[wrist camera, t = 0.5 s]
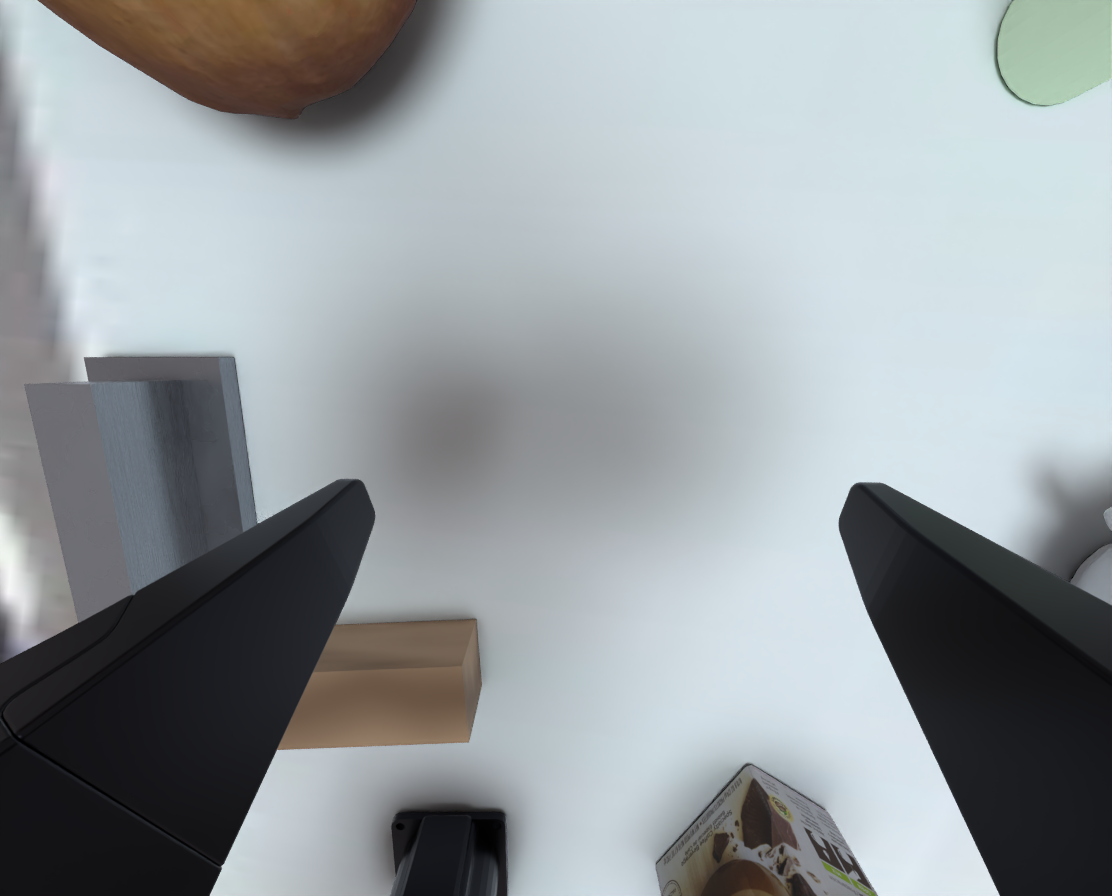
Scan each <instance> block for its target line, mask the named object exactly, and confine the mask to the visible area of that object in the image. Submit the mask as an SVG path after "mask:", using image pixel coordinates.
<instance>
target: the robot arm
mask: <svg viewBox="0 0 1112 896" xmlns="http://www.w3.org/2000/svg"><path fill="white" fill-rule="evenodd" d="M374 521H375V511H374V508H373V505H372V503H371V500H370V497H369V495H368V492H367V490H366V487H365V485H364V483H363V482H362V481H361V480H358V479H339V480H337V481H335V482H333V483H331V484H329V485H328V486H326V487H324V488H322V489H320V490H319V491H317V492H315V493H313V494H311V495H310V496H308V497H306V498H304V499H302V500H301V501H299V502H297V503H295V504H293V505H291V506H290V507H288V508H286V509H284V510H282V511H281V512H279V513H277V514H275V515H273V516H272V517H270V518H268V519H266V520H264V521H263V522H261V523H259V524H257V525H255V526H254V527H252V528H250V529H248V530H246V531H245V532H243V533H241V534H239V535H237V536H236V537H234V538H232V539H230V540H228V541H226V542H225V543H223V544H221V545H219V546H217V547H216V548H214V549H212V550H210V551H208V552H207V553H205V554H203V555H201V556H199V557H198V558H196V559H194V560H192V561H190V562H189V563H187V564H185V565H183V566H181V567H180V568H178V569H176V570H174V571H172V572H171V573H169V574H167V575H165V576H163V577H161V578H160V579H158V580H156V581H154V582H152V583H151V584H149V585H147V586H145V587H143V588H142V589H140V590H138V591H137V592H136V593H135V595H129V596H127V597H125V598H123V599H121V600H120V601H118V602H116V603H114V604H113V605H111V606H109V607H107V608H105V609H104V610H102V611H100V612H98V613H96V614H94V615H92V616H91V617H89V618H87V619H85V620H83V621H81V622H79V623H78V624H76V625H74V626H72V627H70V628H68V629H66V630H65V631H63V632H61V633H59V634H57V635H55V636H53V637H51V638H49V639H47V640H45V641H43V642H41V643H40V644H38V645H36V646H34V647H32V648H30V649H28V650H26V651H24V652H22V653H20V654H18V655H16V656H14V657H12V658H10V659H8V660H6V661H4V662H2V663H0V896H210V893H211V891H212V889H213V887H214V885H215V883H216V881H217V878H218V876H219V874H220V872H221V870H222V867H221V866H222V865H223V864H224V863H225V860H226V858H227V856H228V854H229V852H230V850H231V847H232V845H233V843H234V841H235V839H236V837H237V835H238V832H239V830H240V828H241V826H242V824H243V822H244V820H245V817H246V815H247V813H248V811H249V809H250V807H251V804H252V802H253V800H254V798H255V796H256V794H257V792H258V789H259V787H260V785H261V783H262V781H263V779H264V777H265V774H266V772H267V770H268V768H269V766H270V764H271V761H272V759H273V757H274V755H275V753H276V751H277V749H278V746H279V744H280V742H281V740H282V738H283V736H284V734H285V731H286V729H287V727H288V725H289V723H290V721H291V719H292V716H293V714H294V712H295V710H296V708H297V706H298V703H299V701H300V699H301V697H302V695H303V693H304V691H305V688H306V686H307V684H308V682H309V680H310V678H311V676H312V673H313V671H314V669H315V667H316V665H317V663H318V660H319V658H320V656H321V654H322V652H323V650H324V648H325V645H326V643H327V641H328V639H329V637H330V635H331V633H332V630H333V628H334V626H335V624H336V622H337V620H338V617H339V615H340V613H341V611H342V609H343V607H344V605H345V602H346V600H347V598H348V596H349V593H350V591H351V588H352V586H353V583H354V580H355V578H356V575H357V572H358V569H359V566H360V563H361V560H362V557H363V554H364V551H365V548H366V545H367V543H368V540H369V537H370V534H371V531H372V528H373V525H374ZM839 531H840V534H841V537H842V540H843V543H844V546H845V549H846V552H847V555H848V558H849V561H850V564H851V567H852V570H853V573H854V576H855V579H856V582H857V585H858V588H859V591H860V594H861V597H862V599H863V602H864V605H865V607H866V610H867V612H868V615H869V617H870V619H871V622H872V624H873V626H874V628H875V630H876V632H877V635H878V637H879V639H880V641H881V643H882V645H883V647H884V649H885V652H886V654H887V656H888V658H889V660H890V662H891V664H892V667H893V669H894V671H895V673H896V675H897V677H898V679H899V681H900V684H901V686H902V688H903V690H904V692H905V694H906V696H907V699H908V701H909V703H910V705H911V707H912V709H913V711H914V713H915V716H916V718H917V720H918V722H919V724H920V726H921V728H922V731H923V733H924V735H925V737H926V739H927V741H928V743H929V745H930V748H931V750H932V752H933V754H934V756H935V758H936V760H937V763H938V765H939V767H940V769H941V771H942V773H943V775H944V777H945V780H946V782H947V784H948V786H949V788H950V790H951V792H952V794H953V797H954V799H955V801H956V803H957V805H958V807H959V809H960V812H961V814H962V816H963V818H964V820H965V822H966V824H967V826H968V829H969V831H970V833H971V835H972V837H973V839H974V841H975V844H976V846H977V848H978V850H979V852H980V854H981V856H982V858H983V861H984V863H985V865H986V867H987V869H988V871H989V873H990V876H991V878H992V880H993V882H994V884H995V886H996V888H997V890H998V893H999V895H1000V896H1112V605H1111V604H1109V603H1107V602H1105V601H1103V600H1101V599H1099V598H1098V597H1096V596H1094V595H1092V594H1090V593H1088V592H1086V591H1084V590H1083V589H1081V588H1079V587H1077V586H1075V585H1073V584H1071V583H1069V582H1068V581H1066V580H1064V579H1062V578H1060V577H1058V576H1056V575H1054V574H1053V573H1051V572H1049V571H1047V570H1045V569H1043V568H1041V567H1039V566H1038V565H1036V564H1034V563H1032V562H1030V561H1028V560H1026V559H1024V558H1023V557H1021V556H1019V555H1017V554H1015V553H1013V552H1011V551H1009V550H1008V549H1006V548H1004V547H1002V546H1000V545H998V544H996V543H994V542H993V541H991V540H989V539H987V538H985V537H983V536H981V535H979V534H978V533H976V532H974V531H972V530H970V529H968V528H966V527H964V526H963V525H961V524H959V523H957V522H955V521H953V520H951V519H949V518H948V517H946V516H944V515H942V514H940V513H938V512H936V511H934V510H933V509H931V508H929V507H927V506H925V505H923V504H921V503H919V502H918V501H916V500H914V499H912V498H910V497H908V496H906V495H904V494H903V493H901V492H899V491H897V490H895V489H893V488H891V487H889V486H888V485H886V484H883V483H867V482H859V483H856V484H854V485H853V486H852V487H851V489H850V491H849V494H848V496H847V499H846V501H845V504H844V507H843V509H842V512H841V514H840V517H839ZM392 838H393V849H394V861H395V872H396V878H395V881H394V885H393V888H392V891H391V894H390V896H508V869H507V832H506V817H505V815H504V814H502V813H500V812H402V813H398V814H396V815H395V817H394V820H393V822H392Z"/></svg>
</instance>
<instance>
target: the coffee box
mask: <svg viewBox="0 0 1112 896" xmlns="http://www.w3.org/2000/svg"><path fill="white" fill-rule="evenodd" d="M656 871H657V876H658V881H659V886H660V891H661V896H878V895H877V893H876V892H875V890H874V888H873V887H872V885H871V884H870V882H869V880H868V879H867V877H866V875H865V874H864V872H863V870H862V868H861V867H860V865H859V863H858V862H857V860H856V858H855V857H854V855H853V853H852V851H851V850H850V848H849V846H848V845H847V843H846V841H845V840H844V838H843V836H842V835H841V833H840V831H839V830H838V828H837V826H836V824H835V823H834V821H833V819H832V818H831V816H830V815H829V813H828V812H826V811H825V810H823V809H822V808H820V807H819V806H817V805H815V804H814V803H812V802H811V801H809V800H807V799H806V798H804V797H803V796H801V795H800V794H798V793H796V792H795V791H793V790H792V789H790V788H788V787H787V786H785V785H783V784H782V783H780V782H779V781H777V780H775V779H774V778H772V777H771V776H769V775H767V774H766V773H764V772H763V771H761V770H759V769H758V768H756V767H754V766H752V765H749V766H746V767H745V768H744V769H743V770H742V771H741V772H740V774H739V775H738V776H737V777H736V778H735V779H734V780H733V781H732V782H731V784H730V785H729V786H728V787H727V788H726V789H725V790H724V791H723V792H722V794H721V795H720V796H719V797H718V798H717V799H716V800H715V801H714V802H713V803H712V804H711V805H710V806H709V808H708V809H707V810H706V811H705V812H704V813H703V814H702V815H701V816H700V818H699V819H698V820H697V821H696V822H695V823H694V824H693V825H692V826H691V827H690V828H689V830H688V831H687V832H686V833H685V834H684V835H683V836H682V837H681V838H680V839H679V840H678V841H677V843H676V844H675V845H674V846H673V847H672V848H671V849H670V850H669V851H668V852H667V853H666V854H665V855H664V857H663V858H662V859H661V860H660V861H659V862H658V863H657V865H656Z"/></svg>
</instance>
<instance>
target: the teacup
mask: <svg viewBox="0 0 1112 896" xmlns="http://www.w3.org/2000/svg"><path fill="white" fill-rule="evenodd" d="M1103 516H1104V519H1105V521H1106V523H1107V526H1108V527H1109V529H1110V530H1111V531H1112V507H1110V508H1108V509H1107V510H1106V511H1105V512H1104V514H1103ZM1070 583H1071V584H1073V585H1075V586H1077V587H1079V588H1081V589H1083V590H1084V591H1086V592H1088V593H1090V594H1092V595H1094V596H1096V597H1098V598H1099V599H1101V600H1103V601H1105V602H1107V603H1109V604H1111V605H1112V543H1110V544H1107V545H1105V546H1103V547H1101V548H1099V549H1098V550H1097V551H1096V552H1095V553H1093V554H1092V555H1091V556H1090V557H1089V558H1088V559H1087V560H1085V561H1084V562H1083V563H1082V564H1081V565H1080V567H1079V568H1078V570H1077V571H1076V573H1075V575H1074V577H1073V578H1072V580H1071V581H1070Z"/></svg>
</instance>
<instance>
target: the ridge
mask: <svg viewBox="0 0 1112 896" xmlns="http://www.w3.org/2000/svg"><path fill="white" fill-rule="evenodd" d="M84 361H85V366H86V371H87V376H88V381H89V382H66V383H42V384H24V386H25V390H26V395H27V399H28V404H29V408H30V412H31V417H32V421H33V426H34V430H35V434H36V439H37V443H38V448H39V452H40V456H41V461H42V465H43V469H44V474H45V478H46V483H47V487H48V491H49V496H50V500H51V505H52V509H53V513H54V518H55V522H56V527H57V531H58V535H59V540H60V544H61V549H62V553H63V557H64V562H65V566H66V571H67V575H68V579H69V584H70V588H71V593H72V597H73V601H74V606H75V610H76V615H77V619H78V623H79V622H81V621H83V620H85V619H87V618H89V617H91V616H92V615H94V614H96V613H98V612H100V611H102V610H104V609H105V608H107V607H109V606H111V605H113V604H114V603H116V602H118V601H120V600H121V599H123V598H125V597H127V596H129V595H135V593H136V592H137V591H138V590H140V589H142V588H143V587H145V586H147V585H149V584H151V583H152V582H154V581H156V580H158V579H160V578H161V577H163V576H165V575H167V574H169V573H171V572H172V571H174V570H176V569H178V568H180V567H181V566H183V565H185V564H187V563H189V562H190V561H192V560H194V559H196V558H198V557H199V556H201V555H203V554H205V553H207V552H208V551H210V550H212V549H214V548H216V547H217V546H219V545H221V544H223V543H225V542H226V541H228V540H230V539H232V538H234V537H236V536H237V535H239V534H241V533H243V532H245V531H246V530H248V529H250V528H252V527H254V526H255V525H257V522H256V515H255V507H254V500H253V493H252V485H251V478H250V471H249V463H248V456H247V449H246V441H245V434H244V427H243V419H242V412H241V405H240V397H239V390H238V383H237V375H236V368H235V361H234V358H228V357H84Z"/></svg>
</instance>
